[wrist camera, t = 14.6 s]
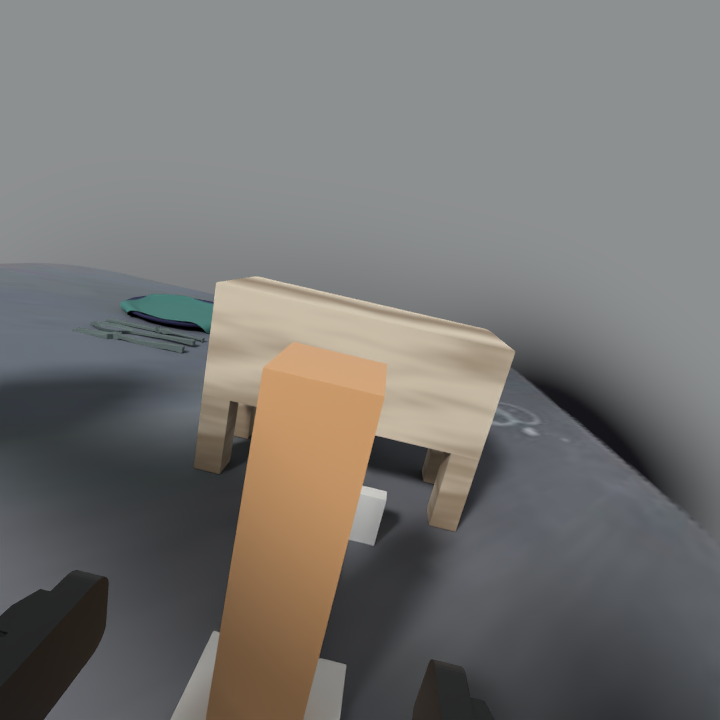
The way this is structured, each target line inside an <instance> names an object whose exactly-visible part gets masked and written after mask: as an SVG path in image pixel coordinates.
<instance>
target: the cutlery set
mask: <svg viewBox="0 0 720 720" xmlns="http://www.w3.org/2000/svg"><path fill="white" fill-rule="evenodd" d="M213 306H214V302H211V301H205V300H199V299H193V298H190V297H187V296H181V295H169V294H151V295H148V296H142V297H134V298H131V299H128V300H125V301H122V302H121V308H122V309H123V310H124V311H125V312H126V313H127V314H128V315H133V314H136V315H138V316H140V317H143V318H145V319H149V320H152V321H156V322H160V323H165V324H171V325H177V326H186V327H198V328H203V329H204V330H205V332H206V333H207V334H210V330H211V322H212V314H213ZM128 311H129V312H128ZM130 312H131V313H130ZM106 321H107V322H91V324H92V325H93V326H95V327H96V328H97V329H100V330H103V331H97V330H88V329H84V328H80V327H79V329H78V328H76V329H72V331H76V332H80V333H84V334H88V335H93V336H97V337H100V338H105V339H116V340H118V339H122V340H126V341H129V342H132V343H136V344H141V345H145V346H150V347H154V348H160V349H167V350H171V351H176V352H178V353H183V352H184V347H185V346H183V345H176V344H170V343H160V342H152V341H146V340H140V339H137V338H133V337H130V336H125V335H122V333H130V334H137V335H144V336H150V337H157V338H163V339H167V340H172V341H177V342H181V343H184V344H188V345H192V346H193V345H194V344H195V341H196V340H194V339H197V340H200V341H202V343H203V342H204V338H200V337H194V336H188V335H185V334H182V333H177V332H173V331H171V330H169V329H168V328H165V329H162V328H160V326H158V327H156V328H153V327H149V326H145V325H141V324H136V323H132V322H127V321H122V320H116V319H106ZM109 322H112V323H109ZM116 323H117V324H116ZM121 324H122V325H121ZM125 325H127V326H125ZM98 326H111V327H117V328H122V329H125V330H127V331H118V330H111V329H105V328H101V327H98ZM129 326H131V327H136V328H141V329H146V330H151V331H155V333H159V332H161V333H162V334H152V333H145V332H135V330H134V329H132V328H131V327H129ZM78 330H79V331H78ZM106 331H107V332H106ZM163 334H175V335H180V336H185V337H189V338H193V339H187V338H181V337H175V336H169V335H163Z"/></svg>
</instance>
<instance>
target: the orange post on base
mask: <svg viewBox="0 0 720 720" xmlns="http://www.w3.org/2000/svg"><path fill="white" fill-rule="evenodd" d="M386 373H387V364H385V363H381V362H377V361H373V360H368V359H364V358H360V357H356V356H352V355H347V354H343V353H339V352H335V351H330V350H326V349H322V348H318V347H313V346H309V345H305V344H301V343H296V342H292V343H291V344H290V345H289V346H288V347H287V348H285V349H284V350H283V351H282V352H281V353H280V354H278V355H277V356H276V357H275V358H274V359H272V360H271V361H270V362H269V363H268V364H267V365H265V366H264V367H263V371H262V377H261V383H260V389H259V395H258V401H257V408H256V414H255V420H254V426H253V432H252V438H251V444H250V450H249V457H248V463H247V469H246V475H245V481H244V487H243V493H242V499H241V506H240V512H239V518H238V524H237V530H236V536H235V542H234V548H233V555H232V561H231V567H230V573H229V579H228V585H227V591H226V597H225V604H224V610H223V616H222V622H221V628H220V632H216V631H213V633H212V635H211V637H210V639H209V641H208V643H207V645H206V647H205V649H204V651H203V653H202V656H201V658H200V660H199V662H198V664H197V666H196V668H195V670H194V672H193V674H192V676H191V678H190V680H189V682H188V685H187V687H186V689H185V691H184V693H183V695H182V697H181V699H180V701H179V703H178V705H177V707H176V709H175V711H174V713H173V716H172V718H171V720H340V714H341V706H342V697H343V689H344V681H345V672H346V664H342V663H338V662H334V661H330V660H326V659H322V658H319V655H320V651H321V647H322V643H323V639H324V635H325V631H326V628H327V624H328V620H329V616H330V612H331V608H332V604H333V600H334V596H335V592H336V588H337V584H338V580H339V576H340V572H341V568H342V564H343V560H344V556H345V552H346V548H347V544H348V540H352V541H356V542H360V543H365V544H369V545H373V546H374V544H375V540H376V536H377V533H378V529H379V525H380V522H381V518H382V514H383V511H384V507H385V503H386V495H387V492H386V491H382V490H378V489H374V488H370V487H366V486H362V485H363V481H364V477H365V473H366V469H367V465H368V461H369V457H370V453H371V449H372V445H373V442H374V438H375V434H376V430H377V426H378V422H379V418H380V414H381V410H382V406H383V402H384V398H385V387H386Z"/></svg>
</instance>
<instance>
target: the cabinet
mask: <svg viewBox="0 0 720 720" xmlns="http://www.w3.org/2000/svg"><path fill="white" fill-rule="evenodd" d="M292 342H296V343H301V344H305V345H309V346H313V347H318V348H322V349H326V350H330V351H335V352H339V353H343V354H347V355H352V356H356V357H360V358H364V359H368V360H373V361H377V362H381V363H385V364H387V373H386V387H385V398H384V402H383V406H382V410H381V414H380V418H379V422H378V426H377V430H376V434H375V435H376V436H380V437H384V438H388V439H392V440H397V441H401V442H405V443H409V444H413V445H418V446H422V447H426V448H428V451H427V454H426V457H425V461H424V464H423V468H422V474H423V481H424V482H428V483H432V484H434V487H433V490H432V494H431V497H430V500H429V503H428V507H427V514H428V522H429V525H430V526H434V527H438V528H442V529H447V530H451V531H455V532H456V529H457V526H458V523H459V520H460V517H461V514H462V511H463V508H464V505H465V502H466V499H467V496H468V493H469V490H470V487H471V484H472V481H473V478H474V475H475V471H476V468H477V465H478V462H479V459H480V456H481V453H482V450H483V447H484V444H485V441H486V438H487V435H488V432H489V429H490V426H491V423H492V420H493V417H494V414H495V411H496V408H497V405H498V402H499V399H500V396H501V393H502V390H503V387H504V384H505V381H506V378H507V375H508V372H509V369H510V366H511V363H512V360H513V357H514V354H515V351H514V350H513V349H511V348H510V347H509V346H508V345H506V344H505V343H504V342H503V341H501V340H500V339H499V338H498V337H496V336H495V335H494V334H493V333H491V332H490V331H489V330H487V329H483V328H479V327H474V326H470V325H466V324H461V323H457V322H453V321H448V320H444V319H439V318H435V317H430V316H427V315H422V314H418V313H413V312H409V311H405V310H401V309H396V308H392V307H388V306H383V305H379V304H375V303H370V302H366V301H362V300H357V299H353V298H349V297H344V296H340V295H335V294H331V293H327V292H322V291H318V290H314V289H310V288H305V287H301V286H297V285H292V284H288V283H283V282H279V281H275V280H270V279H266V278H262V277H257V276H255V277H248V278H242V279H235V280H229V281H222V282H216V290H215V298H214V306H213V314H212V322H211V330H210V338H209V347H208V355H207V363H206V371H205V379H204V388H203V396H202V404H201V412H200V420H199V429H198V437H197V445H196V453H195V461H194V468H196V469H200V470H204V471H209V472H213V473H217V474H220V473H221V472H222V470H223V469H224V468H225V467H226V465H227V464H228V463H229V462H230V458H231V451H232V444H233V438H234V436H237V437H242V438H246V439H248V438H249V437H250V435H251V434H252V432H253V426H254V420H255V414H256V408H257V401H258V395H259V389H260V383H261V377H262V371H263V367H264V366H265V365H267V364H268V363H269V362H270V361H271V360H272V359H274V358H275V357H276V356H277V355H278V354H280V353H281V352H282V351H283V350H284V349H285V348H287V347H288V346H289V345H290V344H291V343H292Z"/></svg>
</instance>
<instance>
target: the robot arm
mask: <svg viewBox="0 0 720 720" xmlns="http://www.w3.org/2000/svg"><path fill="white" fill-rule="evenodd" d="M107 599H108V579H107V578H106V577H103V576H99V575H95V574H91V573H87V572H83V571H79V570H75V571H72V572H71V573H69V574H68V575H67V576H66V577H65V578H64V579H63V580H62V581H61V582H60V583H59V584H58V585H57V586H56V587H55V588H54V589H52V590H51V591H46V590H42V589H40V590H38V591H36V592H34V593H33V594H31V595H29V596H27V597H26V598H24V599H22V600H20V601H19V602H17V603H15V604H13V605H12V606H11V607H10V608H8V609H7V610H6V611H5V612H4V613H3V614H2V615H1V616H0V720H44V719H45V717H46V716H47V715H48V713H49V712H50V711H51V709H52V708H53V707H54V705H55V704H56V703H57V701H58V700H59V699H60V697H61V696H62V695H63V693H64V692H65V691H66V689H67V688H68V687H69V685H70V684H71V683H72V681H73V680H74V679H75V677H76V676H77V675H78V673H79V672H80V671H81V669H82V668H83V667H84V665H85V664H86V663H87V661H88V660H89V659H90V657H91V656H92V655H93V653H94V652H95V650H96V648H97V647H98V645H99V643H100V641H101V638H102V636H103V633H104V630H105V626H106V615H107ZM412 720H494V719H493V717H492V715H491V713H490V711H489V709H488V707H487V705H486V703H485V701H481V700H477V699H473V698H470V695H469V690H468V684H467V678H466V674H465V671H464V669H463V667H461V666H457V665H453V664H449V663H445V662H441V661H437V660H433V659H432V660H431V661H430V662H429V665H428V667H427V670H426V673H425V676H424V679H423V682H422V685H421V688H420V691H419V693H418V696H417V699H416V702H415V706H414V711H413V717H412Z"/></svg>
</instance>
